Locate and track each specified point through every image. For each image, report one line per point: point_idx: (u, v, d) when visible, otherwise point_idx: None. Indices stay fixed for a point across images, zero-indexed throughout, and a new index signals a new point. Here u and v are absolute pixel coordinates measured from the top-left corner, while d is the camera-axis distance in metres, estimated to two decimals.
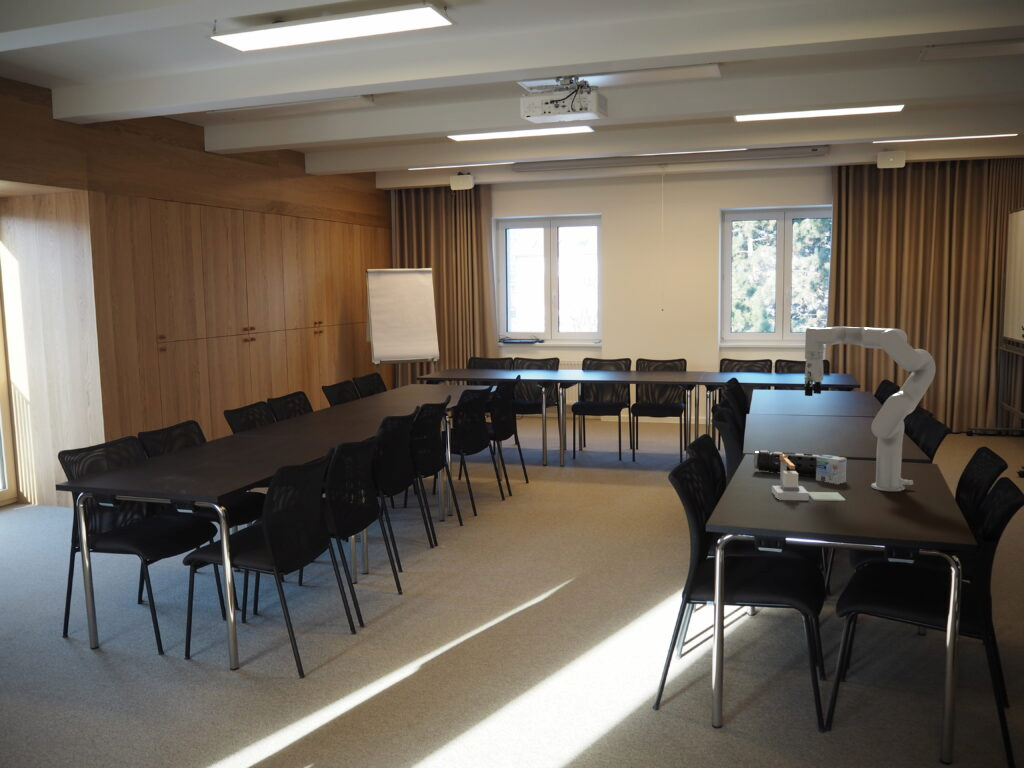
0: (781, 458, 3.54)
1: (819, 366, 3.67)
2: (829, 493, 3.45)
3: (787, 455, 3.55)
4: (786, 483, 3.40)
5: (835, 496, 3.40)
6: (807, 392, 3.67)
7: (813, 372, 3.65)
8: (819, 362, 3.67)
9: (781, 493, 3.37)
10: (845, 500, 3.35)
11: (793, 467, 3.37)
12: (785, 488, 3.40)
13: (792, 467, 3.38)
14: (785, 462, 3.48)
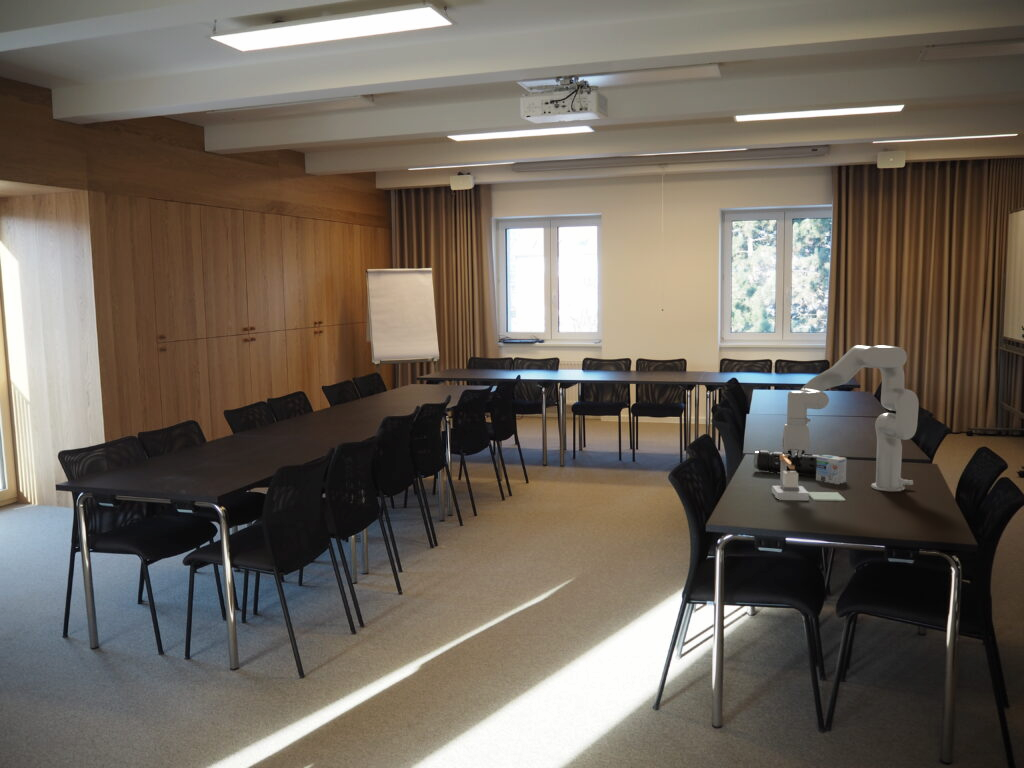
0: (781, 458, 3.54)
1: None
2: (829, 493, 3.45)
3: (787, 455, 3.55)
4: (786, 483, 3.40)
5: (835, 496, 3.40)
6: None
7: None
8: None
9: (781, 493, 3.37)
10: (845, 500, 3.35)
11: (793, 467, 3.37)
12: (785, 488, 3.40)
13: (792, 467, 3.38)
14: (785, 462, 3.48)
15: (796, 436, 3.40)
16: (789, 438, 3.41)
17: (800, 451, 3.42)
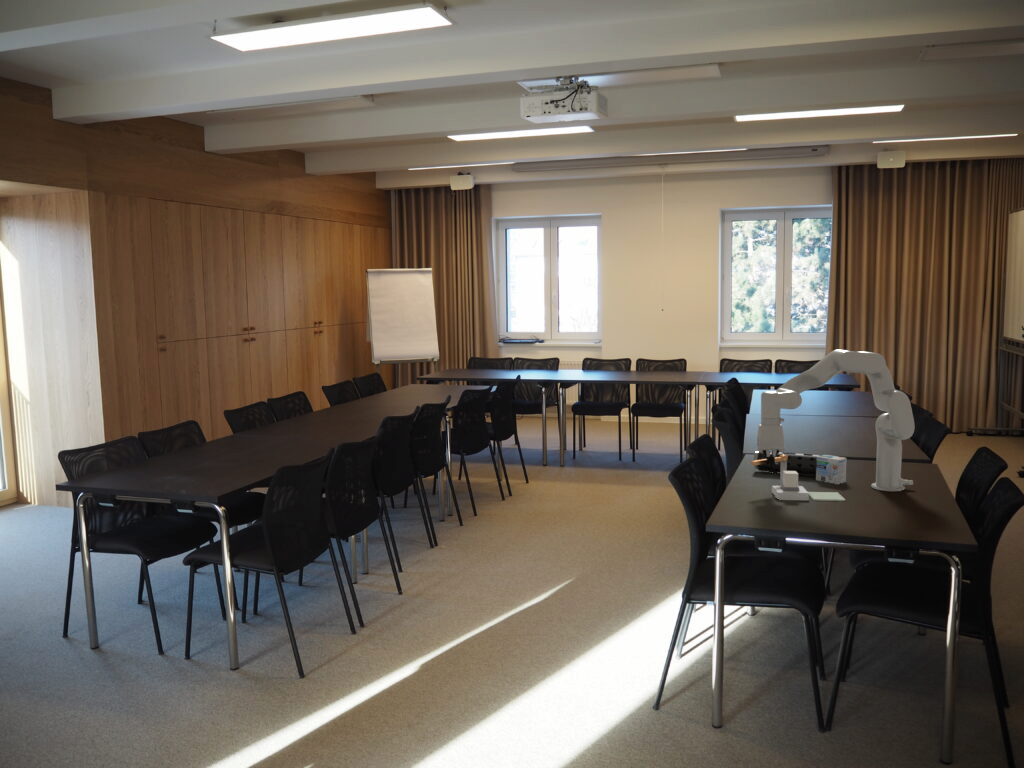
0: None
1: None
2: (829, 493, 3.45)
3: (787, 456, 3.54)
4: (786, 483, 3.40)
5: (835, 496, 3.40)
6: None
7: None
8: None
9: (781, 493, 3.37)
10: (845, 500, 3.35)
11: (752, 463, 3.46)
12: (785, 488, 3.40)
13: (752, 463, 3.47)
14: None
15: (770, 436, 3.44)
16: (763, 437, 3.45)
17: (774, 450, 3.46)
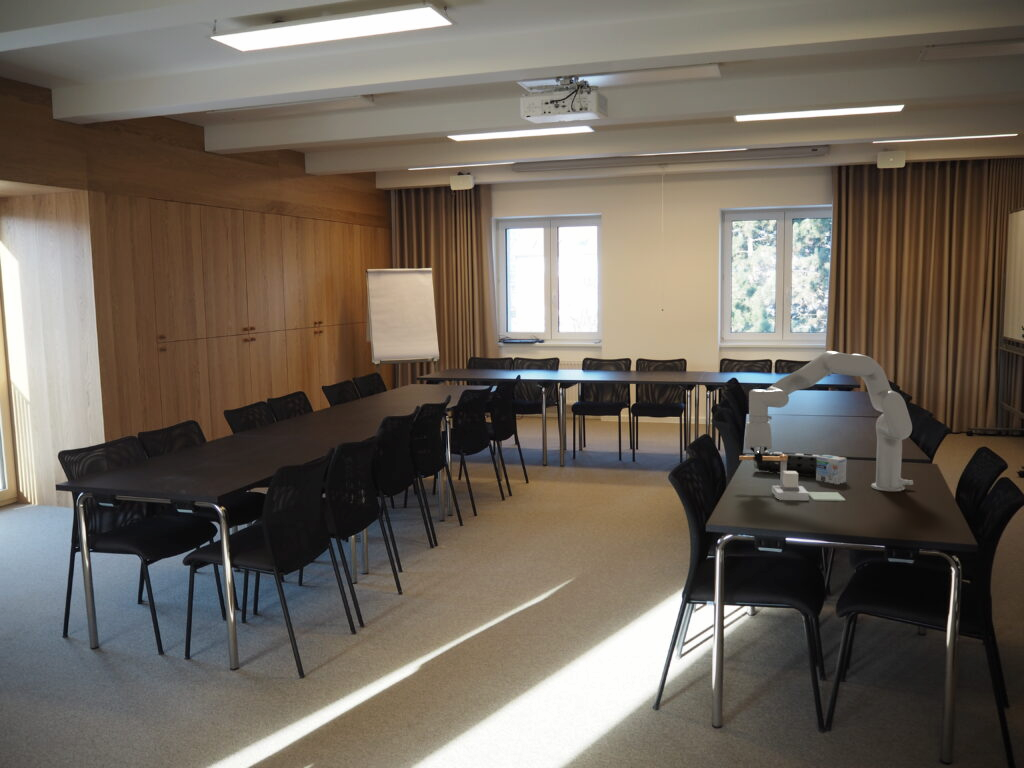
0: None
1: None
2: (829, 493, 3.45)
3: (785, 456, 3.54)
4: (786, 483, 3.40)
5: (835, 496, 3.40)
6: None
7: None
8: None
9: (781, 493, 3.37)
10: (845, 500, 3.35)
11: (739, 458, 3.57)
12: (785, 488, 3.40)
13: (739, 457, 3.58)
14: None
15: (758, 433, 3.51)
16: (751, 435, 3.51)
17: (762, 447, 3.52)
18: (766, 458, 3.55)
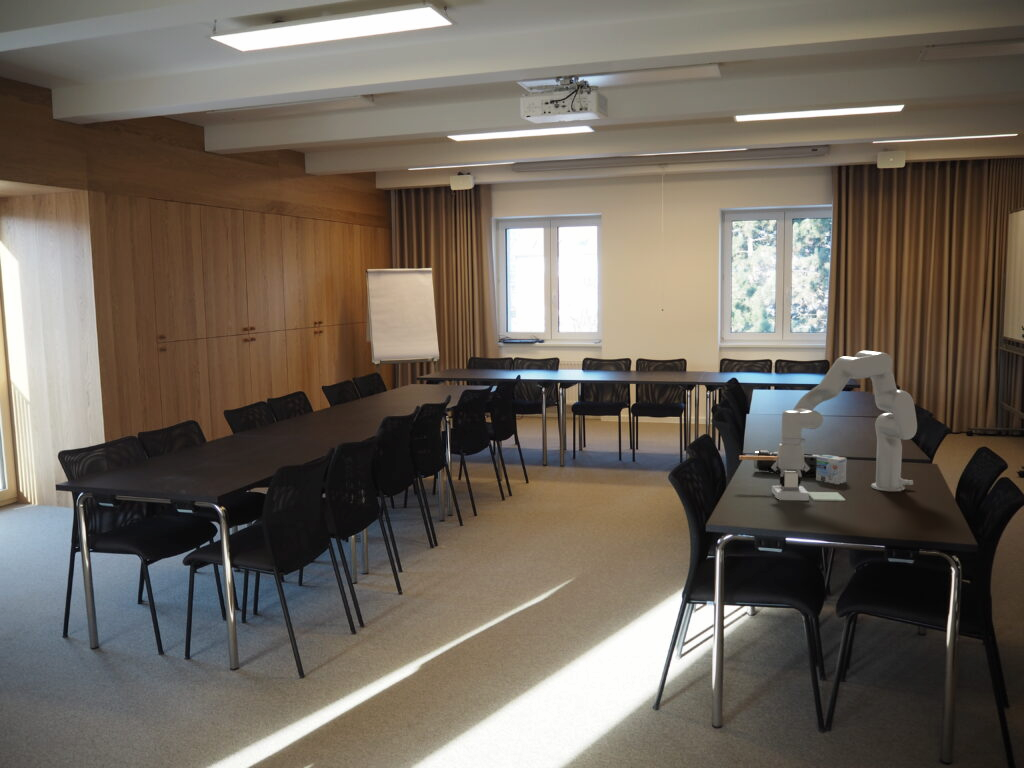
0: None
1: None
2: (829, 493, 3.45)
3: None
4: (786, 483, 3.40)
5: (835, 496, 3.40)
6: None
7: None
8: None
9: (781, 493, 3.37)
10: (845, 500, 3.35)
11: (739, 457, 3.58)
12: (785, 488, 3.40)
13: (739, 457, 3.58)
14: None
15: (791, 456, 3.39)
16: (783, 457, 3.39)
17: (798, 470, 3.40)
18: (766, 458, 3.56)
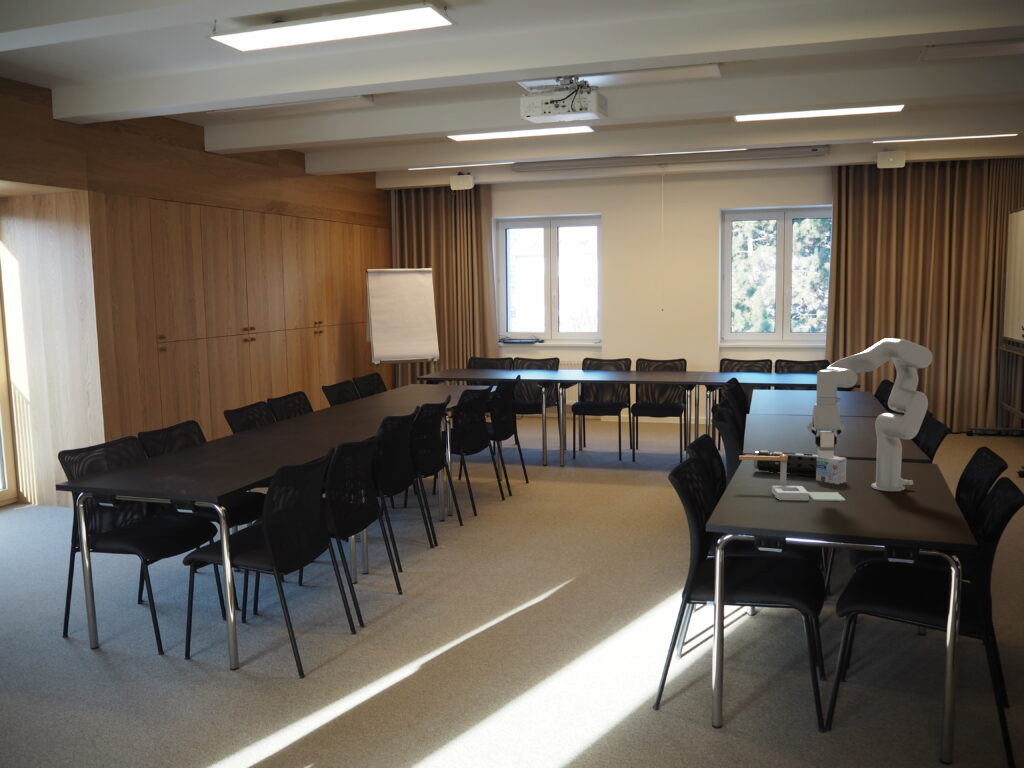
0: None
1: None
2: (829, 493, 3.45)
3: (785, 456, 3.54)
4: (822, 443, 3.37)
5: (835, 496, 3.40)
6: None
7: None
8: None
9: (781, 493, 3.37)
10: (845, 500, 3.35)
11: (739, 457, 3.58)
12: (821, 448, 3.37)
13: (739, 457, 3.58)
14: None
15: (826, 415, 3.35)
16: (819, 417, 3.36)
17: (834, 430, 3.37)
18: (766, 458, 3.56)
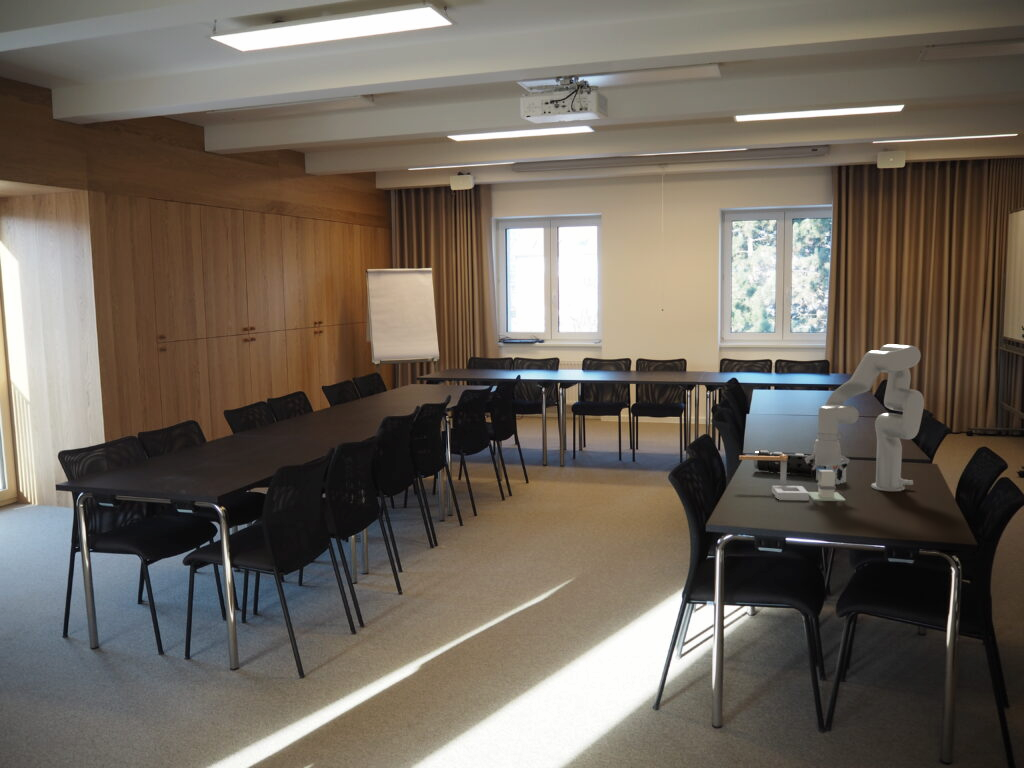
0: None
1: None
2: None
3: (785, 456, 3.54)
4: (822, 482, 3.38)
5: (835, 496, 3.40)
6: None
7: None
8: None
9: (781, 493, 3.37)
10: (845, 500, 3.35)
11: (739, 457, 3.58)
12: (821, 487, 3.38)
13: (739, 457, 3.58)
14: None
15: (827, 452, 3.37)
16: (820, 453, 3.38)
17: (838, 465, 3.38)
18: (766, 458, 3.56)
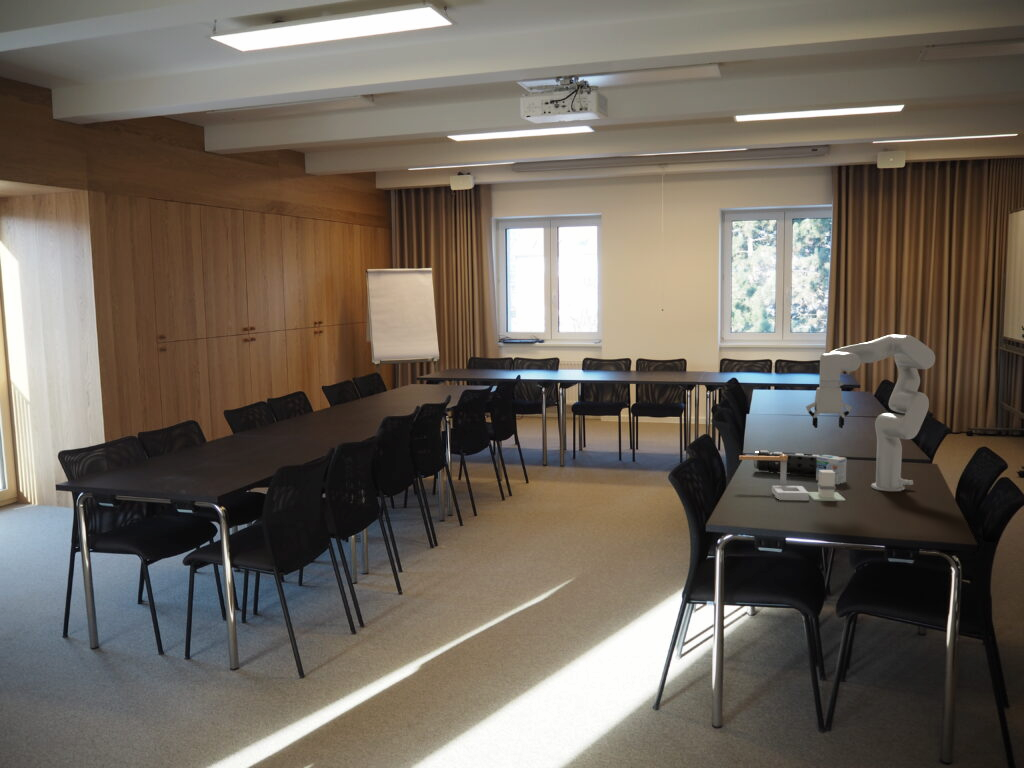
0: None
1: None
2: None
3: (785, 456, 3.54)
4: (822, 482, 3.38)
5: (835, 496, 3.40)
6: None
7: None
8: None
9: (781, 493, 3.37)
10: (845, 500, 3.35)
11: (739, 457, 3.58)
12: (821, 487, 3.38)
13: (739, 457, 3.58)
14: None
15: (829, 399, 3.34)
16: (821, 401, 3.35)
17: (840, 412, 3.36)
18: (766, 458, 3.56)
